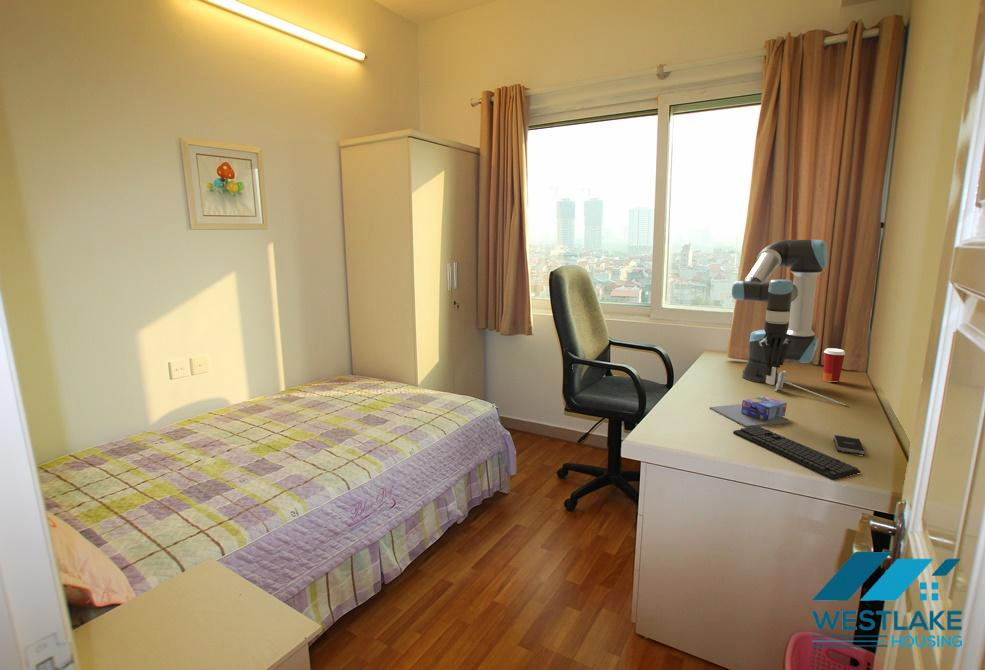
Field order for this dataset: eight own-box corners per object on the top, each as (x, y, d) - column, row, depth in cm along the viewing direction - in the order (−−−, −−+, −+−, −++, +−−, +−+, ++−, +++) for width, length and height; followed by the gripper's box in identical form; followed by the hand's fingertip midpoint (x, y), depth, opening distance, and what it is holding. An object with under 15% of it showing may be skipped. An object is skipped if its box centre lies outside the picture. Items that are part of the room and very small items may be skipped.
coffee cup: (841, 380, 228) (845, 349, 225) (842, 385, 221) (846, 352, 218) (819, 377, 232) (823, 347, 229) (819, 382, 226) (824, 350, 223)
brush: (844, 420, 193) (851, 400, 189) (774, 392, 213) (779, 373, 209) (848, 417, 195) (855, 397, 191) (778, 389, 215) (783, 370, 211)
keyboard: (732, 434, 169) (732, 429, 168) (757, 430, 173) (757, 424, 172) (832, 482, 136) (833, 475, 136) (860, 475, 140) (861, 468, 140)
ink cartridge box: (787, 402, 181) (761, 409, 175) (786, 416, 182) (760, 423, 176) (762, 394, 190) (737, 401, 184) (761, 407, 191) (736, 415, 185)
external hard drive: (837, 453, 154) (838, 447, 153) (833, 440, 163) (833, 434, 163) (864, 457, 150) (865, 451, 150) (858, 444, 160) (859, 438, 160)
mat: (748, 404, 197) (748, 403, 196) (788, 422, 177) (789, 421, 177) (709, 408, 193) (709, 407, 192) (746, 427, 173) (746, 425, 173)
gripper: (783, 319, 185) (776, 379, 190) (754, 321, 182) (747, 382, 187) (800, 322, 178) (792, 385, 182) (769, 324, 175) (762, 387, 179)
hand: (770, 383), depth 184 cm, fingers closed
